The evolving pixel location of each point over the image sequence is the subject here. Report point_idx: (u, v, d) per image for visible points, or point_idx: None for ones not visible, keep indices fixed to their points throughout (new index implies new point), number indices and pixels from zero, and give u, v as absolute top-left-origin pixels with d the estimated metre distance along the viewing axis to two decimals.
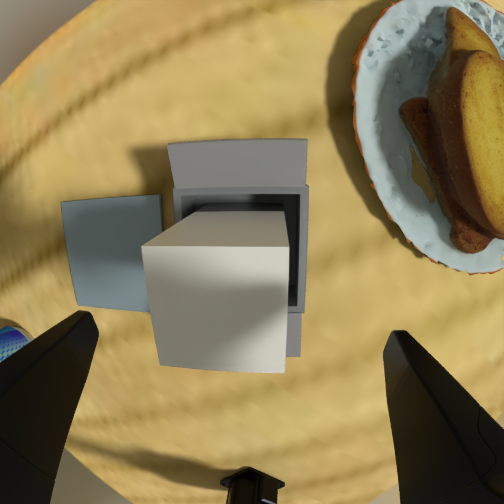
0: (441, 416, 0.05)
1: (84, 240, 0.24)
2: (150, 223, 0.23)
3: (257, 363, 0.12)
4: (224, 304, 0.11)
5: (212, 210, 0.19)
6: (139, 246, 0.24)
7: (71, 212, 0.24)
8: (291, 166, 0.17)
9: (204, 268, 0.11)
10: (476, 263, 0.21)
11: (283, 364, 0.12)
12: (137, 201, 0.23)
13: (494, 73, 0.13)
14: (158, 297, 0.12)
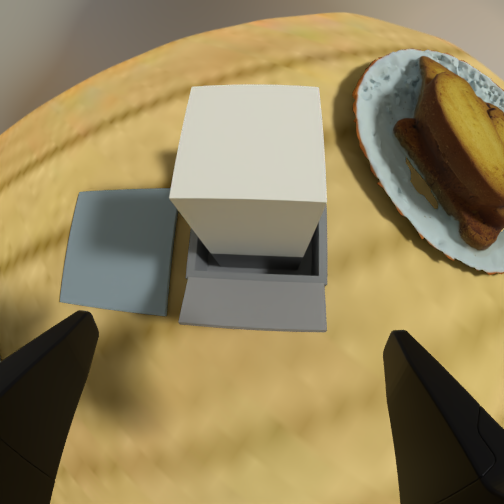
0: (441, 416, 0.05)
1: (91, 229, 0.23)
2: (164, 214, 0.23)
3: (293, 187, 0.10)
4: (261, 124, 0.11)
5: None
6: (147, 236, 0.23)
7: (87, 201, 0.24)
8: None
9: (245, 97, 0.11)
10: (492, 263, 0.20)
11: (324, 189, 0.10)
12: (157, 193, 0.24)
13: (460, 84, 0.19)
14: (194, 121, 0.11)
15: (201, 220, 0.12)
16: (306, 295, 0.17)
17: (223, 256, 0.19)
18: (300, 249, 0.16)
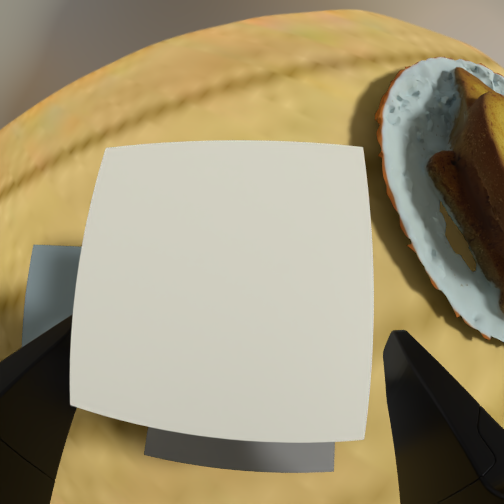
0: (441, 416, 0.05)
1: (47, 295, 0.18)
2: None
3: (301, 416, 0.04)
4: (235, 252, 0.05)
5: None
6: None
7: (41, 258, 0.18)
8: None
9: (205, 176, 0.06)
10: None
11: (363, 414, 0.04)
12: None
13: None
14: (102, 237, 0.05)
15: None
16: None
17: None
18: None
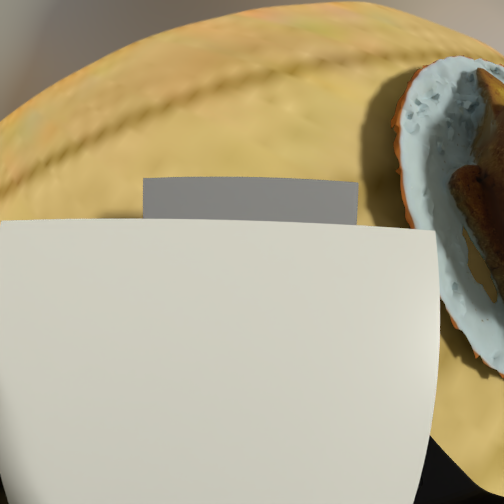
0: None
1: None
2: None
3: None
4: (194, 449, 0.02)
5: None
6: None
7: None
8: None
9: (133, 299, 0.03)
10: None
11: None
12: None
13: None
14: (4, 376, 0.03)
15: None
16: None
17: None
18: None
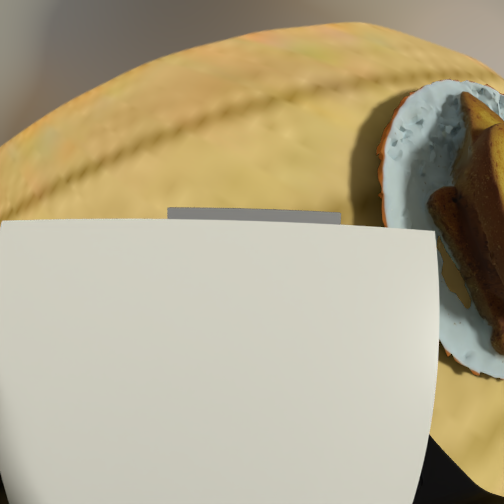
0: None
1: None
2: None
3: None
4: (194, 448, 0.02)
5: None
6: None
7: None
8: None
9: (133, 299, 0.03)
10: None
11: None
12: None
13: None
14: (4, 376, 0.03)
15: None
16: None
17: None
18: None
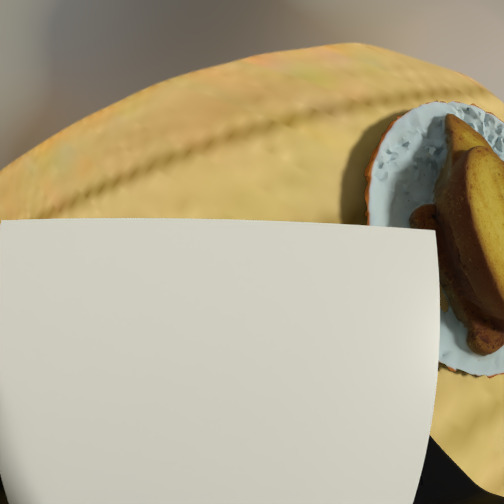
0: None
1: None
2: None
3: None
4: (194, 449, 0.02)
5: None
6: None
7: None
8: None
9: (134, 298, 0.03)
10: (494, 365, 0.18)
11: None
12: None
13: (492, 164, 0.17)
14: (4, 376, 0.03)
15: None
16: None
17: None
18: None
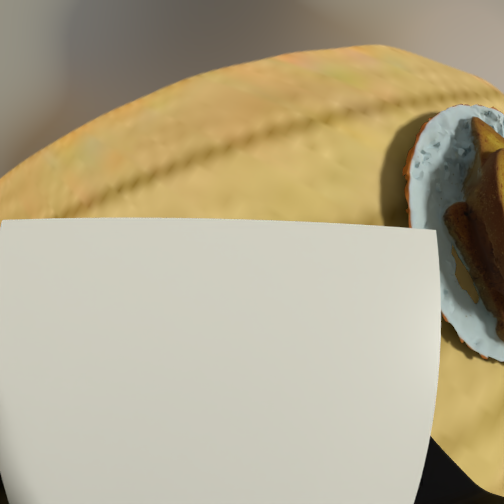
0: None
1: None
2: None
3: None
4: (194, 448, 0.02)
5: None
6: None
7: None
8: None
9: (135, 298, 0.03)
10: None
11: None
12: None
13: None
14: (4, 376, 0.03)
15: None
16: None
17: None
18: None
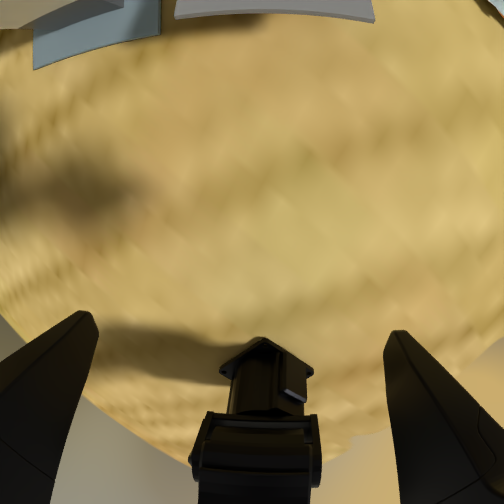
0: (441, 416, 0.05)
1: None
2: None
3: None
4: None
5: None
6: None
7: None
8: None
9: None
10: None
11: None
12: None
13: None
14: None
15: None
16: None
17: (31, 25, 0.10)
18: None
